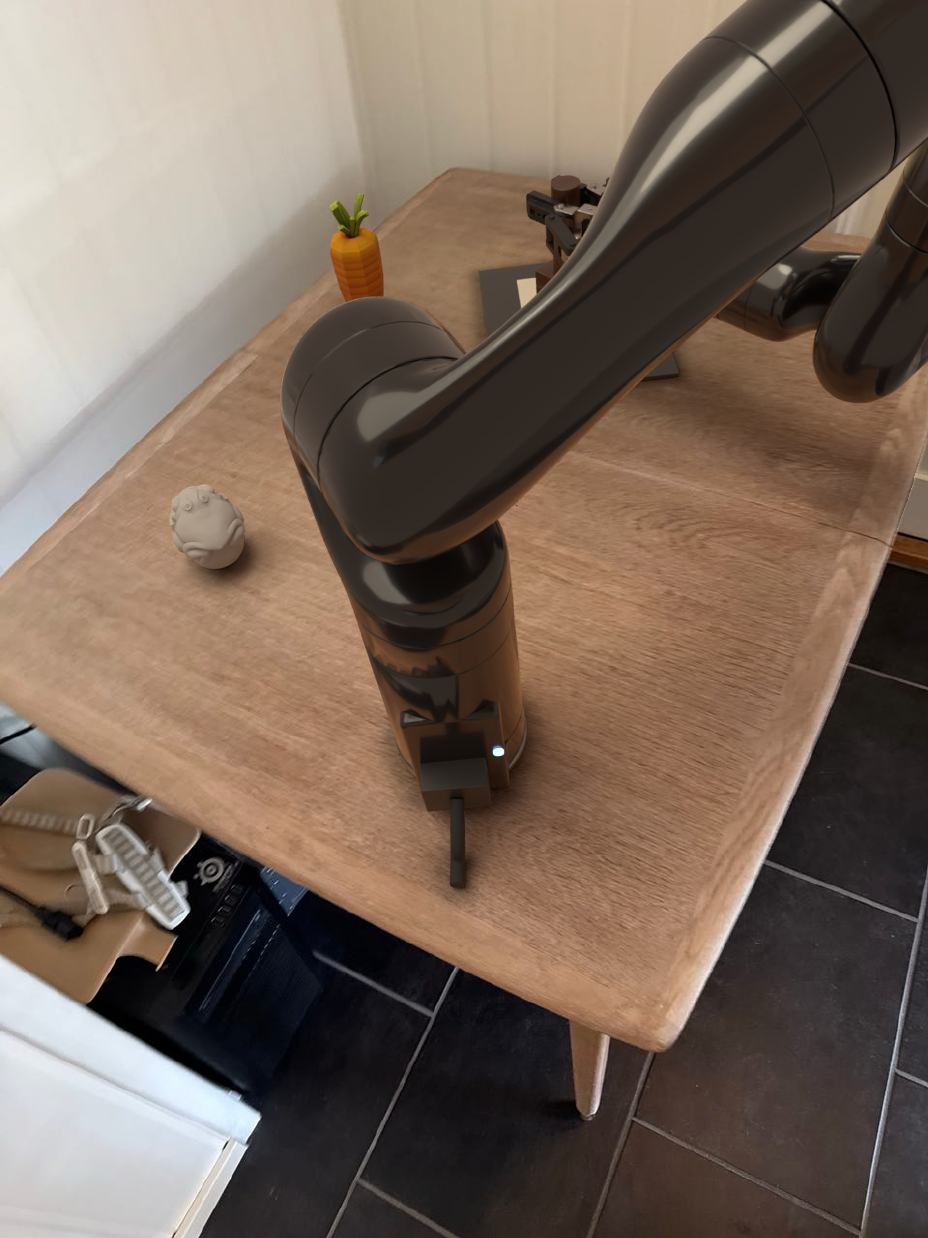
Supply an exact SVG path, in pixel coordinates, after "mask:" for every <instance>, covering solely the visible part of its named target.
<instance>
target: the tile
mask: <svg viewBox="0 0 928 1238" xmlns="http://www.w3.org/2000/svg"><path fill="white" fill-rule="evenodd" d="M548 262H549V261H547V262H539V263H531V264H523V265H515V266H506V267H497V268H491V269H482V270H478V279H479V287H480V296H481V305H482V314H483V322H484V323H483V324H484V330H485V339H486V338H487V337H489V336H490V335H491V334H492V333H494V332H495V331H496V330H497V329H499V328H500V327H501V326H502V325H503V324H504V323H506V322H507V321H508V320H509V319H510V318H511V317H512V316H513V315H514V314H516V313H517V312H518V311H519V310H520V309H521V308H522V307H523V306H524V305H526V304H527V303H528V302H529V301H530V300H531V299H532V298H533V297H534V296H535V295H536V275H535V271H536V270H537V269H539V268H540V267H542V266H543V265H545V264H546V263H548ZM679 375H680V372H679V369H678V366H677V363H676V360H675V357H674V355H673V352H672V353H671V354H670V355H669V356H668V357H667V358H666V359H664V360H663V361H662V362H661V363H660V364H659V365H658V366H657V367H655V368H654V369H653V370H652V371H651V372H650V373H649V374H648V375H647V376H645V377H644V378H643V379H642V380H641V381H640V382H642V381H650V380H652V381H653V380H661V379H667V378H677V377H679Z"/></svg>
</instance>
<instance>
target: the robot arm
mask: <svg viewBox="0 0 928 1238" xmlns="http://www.w3.org/2000/svg"><path fill="white" fill-rule="evenodd" d="M905 160H906V162H905V164H904V166H903V168H902V170H901V173H900V175H899V178H898V180H897V182H896V184H895V185H894V189H893V191H892V193H891V195H890V197H889V199H888V201H887V204H886V206H885V208H884V211H883V214H882V216H881V219H880V222H879V224H878V226H877V228H876V230H875V232H874V235H873V236H872V237H871V239H870V241H869V243H868V244H867V245H866V247H865V248H864V250H863V251H862V252H855V251H848V250H836V249H835V250H834V249H833V250H832V249H816V248H810V247H807V246H805V245H804V244H805V243H807V241H809V240H810V239H812V238H813V237H814V236H816V235H817V234H818V233H820V232H821V231H823V229H825V228H826V227H827V226H828V225H829V224H831V223H832V222H833V221H834V220H836V219H837V218H838V217H839V216H840V215H842V214H844V212H845V211H847V210H848V209H850V207H851V206H853V205H854V204H855V203H856V202H857V201H859V200H860V199H861V198H862V197H864V196H865V195H866V194H867V193H868V192H870V191H871V190H872V189H874V187H876V186H877V185H879V184H880V182H881V181H883V180H885V179H886V177H888V176H889V175H890V174H891V173H892V172H893V171H894V170H895V169H897V168H898V167H899V166H900V165H901V164H902V163H903V162H904V161H905ZM560 176H561V175H560V174H559V175H556V176H554V177H553V178H552V179H551V181H550V183H551V182H552V180H553V179H555V178H557V177H560ZM525 205H526V214H527V217H528V218H529V219H530V220H532V221H534V222H536V223H539V224H541V225H544V226H545V246H546V248H547V249H548V251H549V252H550V253H551V255H552V257H553V256H554V257H555V259H556V260H557V261H558V263H559V264H560V266H561V268H560V269H559V271H558V272H557V273H556V274H555V275H554V276H553V278H552V279H551V280H550V281H549V282H548V283H547V284H546V285H545V286H544V287H543V288H542V290H541V291H540V292H538V293H537V294H536V295H535V296H534V297H533V298H532V299H531V300H530V301H529V302H528V303H527V304H526V305H524V306H523V307H522V308H521V309H520V310H519V311H518V312H517V313H516V314H514V315H513V316H512V317H511V318H510V319H509V320H508V321H507V322H506V323H504V324H503V325H502V326H501V327H500V328H499V329H497V330H496V331H495V332H494V333H492V334H491V335H490V336H489V337H487V338H486V337H485V339H483V340H482V341H481V342H480V343H478V344H477V345H476V346H474V347H473V348H471V349H470V350H469V351H467V350H466V348H464V347H463V346H462V344H460V342H459V341H458V340H457V339H456V337H455V336H454V335H453V334H452V333H451V332H450V331H449V329H448V328H447V327H446V326H445V325H444V324H443V323H442V322H441V321H440V320H439V319H438V318H436V317H435V316H434V315H433V314H431V313H430V312H429V311H428V310H426V309H424V308H422V307H421V306H419V305H417V304H415V303H413V302H410V301H407V300H403V299H400V298H397V297H391V296H390V297H389V296H384V297H382V296H373V297H363V298H358V299H354V300H351V301H348V302H346V301H344V302H343V303H340V304H338V305H336V306H334V307H333V308H331V309H329V310H327V311H326V312H325V313H323V314H322V315H320V316H319V317H318V318H317V319H316V320H315V321H313V322H312V323H311V324H310V325H309V326H308V327H307V329H305V331H304V332H303V333H302V335H301V336H300V337H299V338H298V340H297V342H296V343H295V345H294V347H293V348H292V350H291V352H290V354H289V357H288V359H287V361H286V364H285V367H284V370H283V373H282V377H281V378H282V379H281V385H280V392H279V409H280V417H281V418H280V419H281V423H282V427H283V432H284V435H285V438H286V441H287V444H288V447H289V450H290V454H291V456H292V459H293V462H294V464H295V467H296V470H297V472H298V475H299V478H300V481H301V484H302V486H303V490H304V493H305V495H306V497H307V500H308V502H309V505H310V509H311V511H312V513H313V516H314V519H315V521H316V524H317V527H318V530H319V533H320V536H321V538H322V541H323V543H324V546H325V549H326V550H327V553H328V555H329V557H330V560H331V562H332V564H333V565H334V568H335V570H336V572H337V574H338V576H339V579H340V581H341V583H342V585H343V588H344V590H345V592H346V595H347V597H348V600H349V603H350V605H351V608H352V612H353V614H354V617H355V620H356V623H357V626H358V629H359V632H360V637H361V639H362V642H363V645H364V648H365V651H366V654H367V657H368V660H369V664H370V666H371V670H372V672H373V675H374V678H375V681H376V684H377V687H378V690H379V694H380V696H381V699H382V702H383V705H384V708H385V712H386V714H387V717H388V720H389V723H390V726H391V729H392V731H393V734H394V738H395V744H396V747H397V752H398V754H399V757H400V758H401V761H402V763H403V765H404V766H405V768H406V770H407V771H408V772H409V773H410V774H411V775H412V776H413V777H414V778H415V779H416V782H417V785H418V788H419V791H420V794H421V796H422V799H423V802H424V805H425V809H426V811H427V812H428V813H429V812H430V813H431V812H440V811H441V812H442V811H449V837H450V838H449V842H450V843H449V844H450V845H449V848H450V850H449V851H450V852H449V853H450V859H449V860H450V861H449V862H450V863H449V886H450V888H451V887H452V888H456V889H460V888H464V887H465V885H466V883H465V881H466V876H465V875H466V818H465V817H466V813H465V810H466V809H472V808H482V807H483V808H484V807H491V806H492V796H491V795H492V793H491V789H498V788H507V787H509V786H510V783H511V781H510V771H511V770H512V769H513V768H514V767H515V766H516V765H517V763H518V761H520V758H521V756H522V755H523V752H524V750H525V747H526V742H527V736H528V726H527V718H526V713H525V710H524V708H525V707H524V698H523V689H522V679H521V668H520V657H519V647H518V637H517V628H516V616H515V605H514V604H515V602H514V593H513V582H512V573H511V561H510V552H509V551H510V550H509V546H508V541H507V537H506V534H505V532H504V529H503V527H502V525H501V522H500V520H499V519H500V518H501V517H502V516H504V515H505V514H506V513H507V512H508V511H509V510H510V509H512V508H513V507H514V506H515V505H516V504H517V503H518V502H519V501H520V500H521V499H522V498H524V496H525V495H526V494H527V493H529V492H530V490H531V489H532V488H534V486H536V485H537V484H538V483H539V482H540V481H541V480H542V479H543V478H544V477H545V476H546V475H547V474H548V473H549V472H550V471H551V470H552V469H553V468H554V467H555V466H556V465H557V464H558V463H559V462H560V461H561V460H562V459H563V458H564V457H565V456H566V455H568V453H569V452H570V451H571V450H572V449H573V448H575V446H576V445H577V444H578V443H579V442H580V441H581V440H582V439H583V438H584V437H585V436H586V435H587V434H589V432H590V431H591V430H592V429H593V428H595V426H596V425H597V424H598V423H600V422H601V420H602V419H603V418H604V417H605V416H606V415H608V414H609V412H610V411H611V410H613V408H614V407H615V406H616V405H618V404H619V402H621V400H623V399H624V398H625V397H626V396H627V395H628V394H629V393H630V392H631V391H632V390H633V389H634V388H635V387H636V386H637V385H638V384H639V383H640V382H642V381H641V380H642V379H643V378H644V377H645V376H647V375H648V374H649V373H650V372H651V371H652V370H653V369H654V368H655V367H657V366H658V365H659V364H660V363H661V362H662V361H663V360H664V359H666V358H667V357H668V356H669V355H670V354H671V353H672V354H673V353H674V352H675V351H676V350H677V349H678V348H680V347H681V346H682V345H683V344H684V343H685V342H686V341H688V340H689V339H690V338H691V337H692V336H693V335H695V334H696V333H697V332H698V331H699V330H700V329H701V328H702V327H703V326H705V325H706V324H707V323H708V322H709V321H711V319H715V320H718V321H721V322H723V323H725V324H727V325H730V326H731V327H735V328H736V329H738V330H741V331H743V332H745V333H748V334H750V335H753V336H755V337H756V338H757V337H758V338H760V339H763V340H765V341H769V342H773V343H784V342H787V341H790V340H792V339H795V338H797V337H800V336H803V335H805V334H807V333H811V332H815V334H814V338H813V341H812V349H811V359H812V366H813V370H814V373H815V376H816V378H817V380H818V382H819V384H820V385H821V387H822V388H823V389H824V391H826V392H827V393H828V394H829V395H830V396H832V397H834V398H836V399H837V400H840V401H841V402H846V403H850V404H868V403H873V402H876V401H879V400H882V399H884V398H886V397H888V396H890V395H891V394H894V393H895V392H897V390H899V389H900V388H901V387H903V385H905V383H907V382H908V381H909V380H910V379H911V378H912V377H913V376H914V375H915V374H917V372H918V371H919V370H921V368H923V367H924V366H925V365H926V364H927V363H928V0H745V1H744V2H743V3H742V4H740V5H739V6H738V7H737V8H736V9H735V10H734V11H733V12H731V13H730V14H729V15H728V16H727V17H726V18H725V19H724V20H722V21H721V22H720V23H719V24H718V25H716V26H715V27H714V28H713V29H712V30H711V31H710V32H709V33H708V34H706V35H705V36H704V37H703V38H701V40H700V41H698V42H697V43H696V44H695V45H694V46H693V47H692V48H691V49H690V50H689V51H688V52H687V53H686V54H685V55H684V56H682V58H681V59H680V60H678V62H677V63H676V64H675V65H674V66H673V67H672V68H671V69H670V70H669V71H668V72H667V73H666V75H664V77H663V78H662V79H661V81H660V82H659V83H658V84H657V86H656V87H655V89H654V90H653V91H652V93H651V94H650V95H649V97H648V98H647V100H646V102H645V104H644V105H643V107H642V109H641V111H640V112H639V114H638V116H637V117H636V120H635V121H634V123H633V126H632V128H631V130H630V132H629V134H628V136H627V138H626V140H625V142H624V144H623V146H622V148H621V151H620V153H619V155H618V157H617V160H616V162H615V165H614V167H613V169H612V170H611V174H610V176H609V177H607V178H606V179H605V183H604V184H601V183H598V182H591V183H588V184H586V183H584V182H581V207H580V208H579V207H576V206H572V205H569V204H565V203H562V201H560V200H557V199H555V198H552V197H551V195H547V194H546V193H542V192H541V191H537V190H535V189H534V190H531V191H530V192H528V193H527V194H526V195H525ZM569 219H572V220H573V221H574V227H570V226H569Z"/></svg>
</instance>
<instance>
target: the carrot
mask: <svg viewBox="0 0 928 1238" xmlns="http://www.w3.org/2000/svg"><path fill="white" fill-rule="evenodd" d="M364 197H365V194H364V193H362V192H359V193H357V194H356V197H355V201H354V207H353V208H354V209H353V216H350V214H349V212H348V210H347V209H346V208H345V207H344V205H343V204H342V203H341V201H340V200H335V201H334V202H332V203H331V204H330V205H329V208H330V211H331V214H332V215H333V216H334V218H335V220H336V222H337V223H338V225H337V226H336V228H337V230H338V231H337V232H336V233H334V234H333V236H332V237H331V241H330V245H329V255H330V259H331V263H332V267H333V270H334V275H335V277H336V280H337V284H338V287H339V290H340V292H341V295H342V297H343V299H344V302H348V301H351V300H354V299H358V298H363V297H373V296H382V297H385V296H384V295H385V294H384V291H385V289H384V288H385V287H384V286H385V285H384V284H385V282H384V269H383V263H382V256H381V249H380V243H379V238H378V236H377V234H376V233H375V232H373V231H372V230H370V229H368V228H367V227H364V226H362V222H363V221H364V219H365V218H367V217H369V216H370V213H369V211H368V210H366V209H362V205H363V202H364Z"/></svg>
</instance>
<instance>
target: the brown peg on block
mask: <svg viewBox="0 0 928 1238" xmlns="http://www.w3.org/2000/svg"><path fill="white" fill-rule="evenodd" d="M554 178H555V177H554ZM552 179H553V178H552ZM552 179H551V180H552ZM581 183H582V181H581V179H580V178H579V177H577V176H575V175H570V174H567V175H560V177H557V178H555V179H553V180H552V182H551V181H550V197H552V198H555V199H557V200H560V201H562V203H565V204H569V205H572V206H576V207H579V208H580V207H581ZM569 226H570V227H574V221H573V220H572V219H569ZM547 262H548V263H546V262H545V263H546V264H545V265H543V266H542V267H540V268H539V269H537V270H536V271H535V275H536V294H537V293H538V292H540V291H541V290H542V288H543V287H544V286H545V285H546V284H547V283H548V282H549V281H550V280H551V279H552V278H553V276H554V275H555V274H556V273H557V272H558V271H559V269H560V268H561V266H560V264H559V263H558V261H557V260H556V259H555V257H554V256H553V255H552V259H551V260H550V261H547Z"/></svg>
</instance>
